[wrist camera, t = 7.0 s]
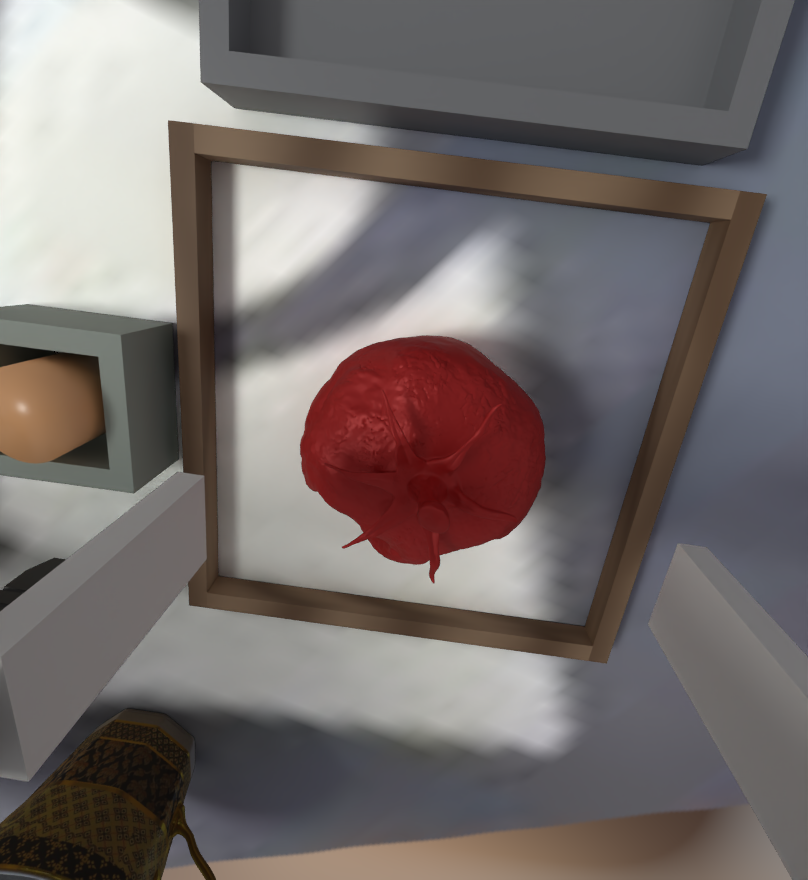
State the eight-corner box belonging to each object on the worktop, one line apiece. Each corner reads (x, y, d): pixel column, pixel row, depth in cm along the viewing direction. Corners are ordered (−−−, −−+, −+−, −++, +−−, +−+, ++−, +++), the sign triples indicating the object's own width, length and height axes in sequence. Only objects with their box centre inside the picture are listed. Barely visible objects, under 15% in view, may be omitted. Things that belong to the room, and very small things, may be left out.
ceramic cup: (84, 783, 35) (-46, 976, 25) (68, 677, 31) (-90, 855, 22) (263, 810, 34) (199, 1015, 25) (267, 706, 31) (194, 898, 22)
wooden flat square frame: (201, 588, 28) (189, 605, 27) (186, 130, 20) (167, 120, 19) (597, 643, 28) (606, 663, 26) (743, 199, 20) (767, 194, 18)
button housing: (47, 441, 25) (-20, 472, 22) (27, 304, 23) (-53, 312, 19) (178, 459, 25) (134, 493, 22) (172, 323, 23) (120, 335, 19)
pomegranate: (353, 299, 22) (297, 313, 13) (559, 362, 23) (637, 416, 14) (307, 487, 25) (237, 598, 17) (488, 540, 26) (514, 677, 17)
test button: (53, 426, 24) (-19, 456, 20) (41, 344, 22) (-38, 360, 19) (133, 436, 24) (76, 469, 20) (127, 355, 22) (64, 373, 18)
